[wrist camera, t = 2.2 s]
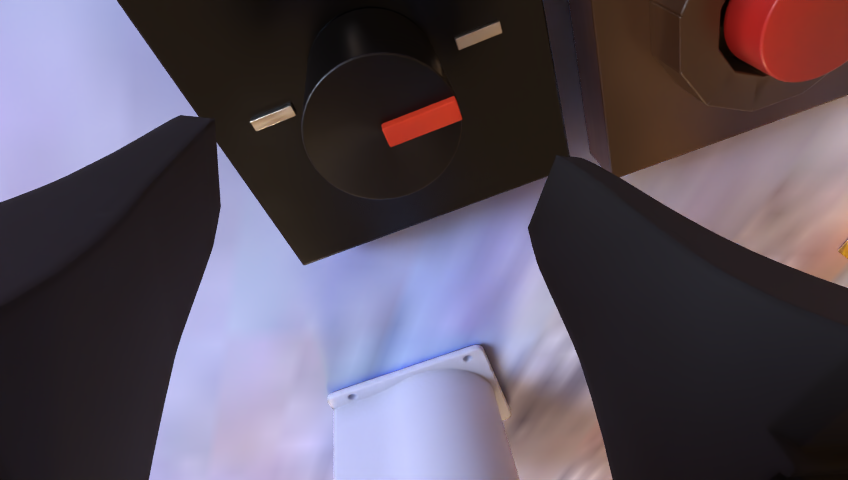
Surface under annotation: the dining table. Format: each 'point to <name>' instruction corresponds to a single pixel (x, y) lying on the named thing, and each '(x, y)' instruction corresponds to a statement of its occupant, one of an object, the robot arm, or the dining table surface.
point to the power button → (788, 36)
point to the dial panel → (284, 95)
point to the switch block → (674, 81)
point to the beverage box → (844, 249)
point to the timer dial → (378, 106)
